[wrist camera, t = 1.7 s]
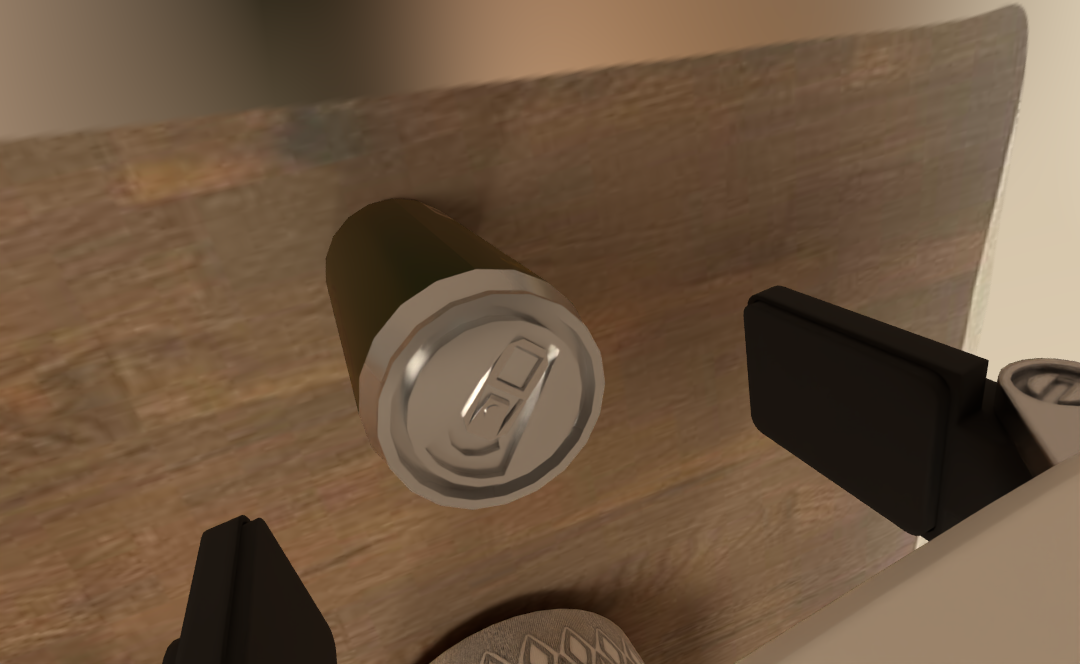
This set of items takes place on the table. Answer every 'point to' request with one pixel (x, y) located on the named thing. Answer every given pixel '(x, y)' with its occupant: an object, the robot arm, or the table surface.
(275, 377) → the table surface
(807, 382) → the robot arm
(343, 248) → the guarana soda can
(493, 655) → the planter
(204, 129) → the table surface
